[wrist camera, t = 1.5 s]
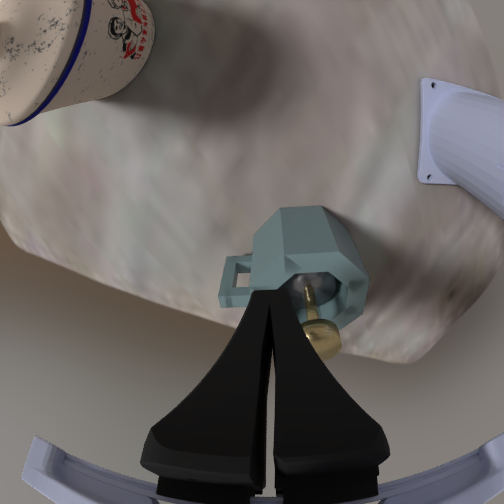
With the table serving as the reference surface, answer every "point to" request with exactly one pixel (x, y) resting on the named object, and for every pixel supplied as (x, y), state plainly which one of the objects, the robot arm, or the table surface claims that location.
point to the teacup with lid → (68, 52)
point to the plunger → (315, 310)
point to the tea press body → (301, 262)
